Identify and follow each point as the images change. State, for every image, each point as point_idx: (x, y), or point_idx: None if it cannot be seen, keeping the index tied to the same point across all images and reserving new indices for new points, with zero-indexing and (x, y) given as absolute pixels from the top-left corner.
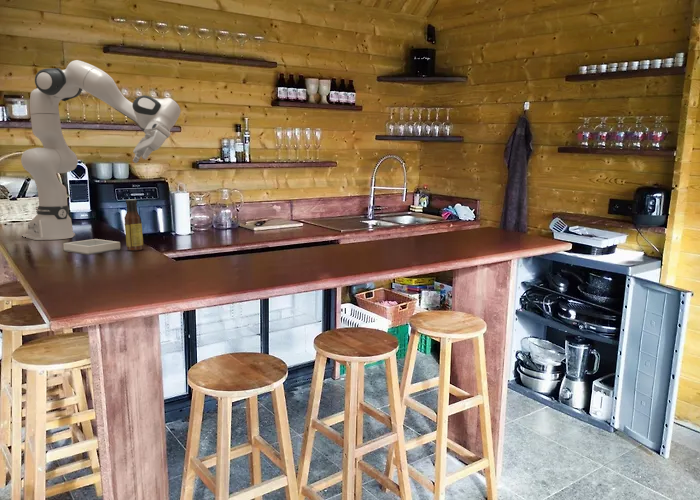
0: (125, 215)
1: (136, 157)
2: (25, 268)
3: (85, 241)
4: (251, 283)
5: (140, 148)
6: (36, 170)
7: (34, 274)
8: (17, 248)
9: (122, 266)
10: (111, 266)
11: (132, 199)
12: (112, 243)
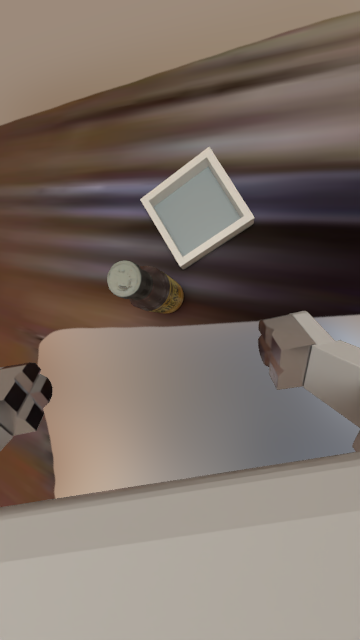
0: (147, 267)
1: (280, 358)
2: (61, 112)
3: (230, 194)
4: None
5: (181, 485)
6: None
7: (16, 132)
8: (293, 52)
9: (26, 253)
10: (31, 238)
11: (125, 283)
12: (170, 249)
